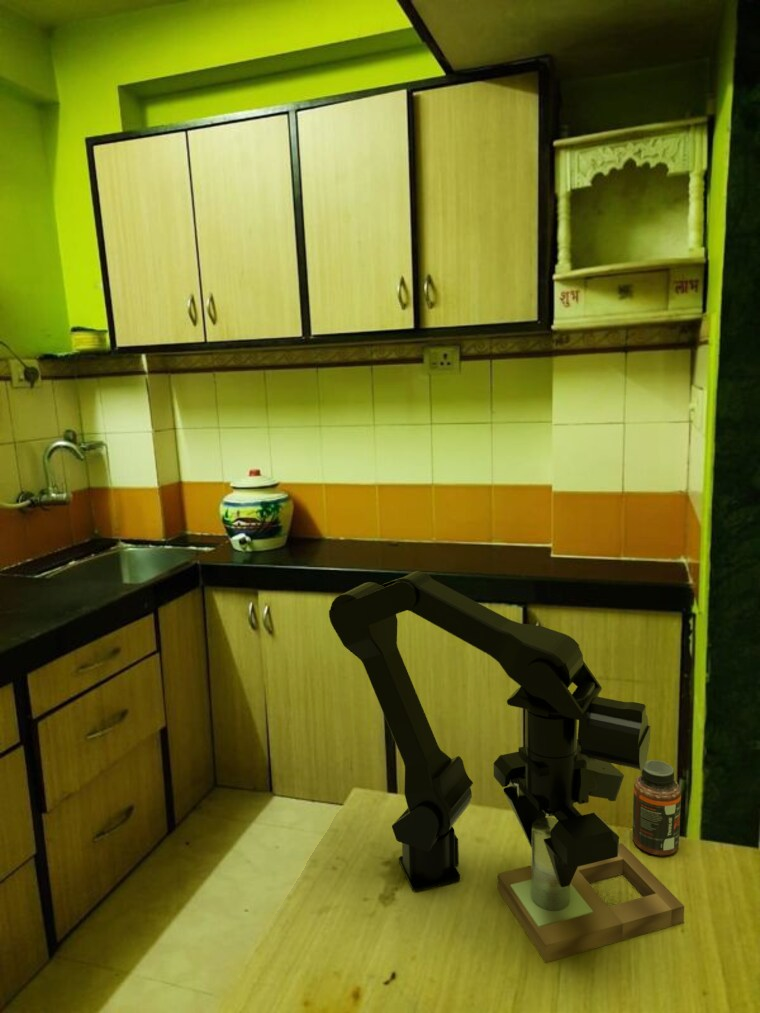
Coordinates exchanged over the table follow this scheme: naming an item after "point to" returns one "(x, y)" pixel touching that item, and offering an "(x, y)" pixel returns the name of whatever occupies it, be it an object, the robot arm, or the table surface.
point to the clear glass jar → (545, 870)
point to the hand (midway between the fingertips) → (550, 867)
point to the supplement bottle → (656, 809)
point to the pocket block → (591, 908)
